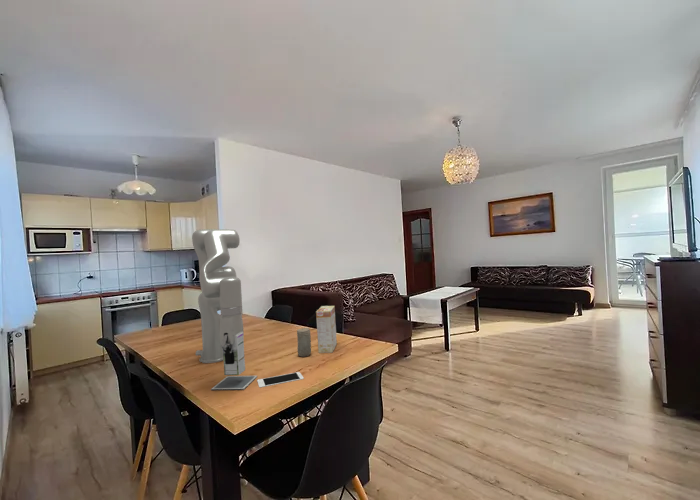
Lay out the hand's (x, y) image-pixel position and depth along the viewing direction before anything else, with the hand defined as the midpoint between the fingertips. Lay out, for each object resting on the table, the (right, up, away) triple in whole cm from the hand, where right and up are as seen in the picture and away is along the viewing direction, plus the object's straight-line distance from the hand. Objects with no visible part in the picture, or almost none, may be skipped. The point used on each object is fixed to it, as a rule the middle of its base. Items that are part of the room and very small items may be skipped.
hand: (234, 360), depth 120 cm
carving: (+22, -8, +30) cm, 38 cm away
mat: (0, -8, 0) cm, 8 cm away
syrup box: (0, -5, 0) cm, 5 cm away
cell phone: (+17, -8, +1) cm, 19 cm away
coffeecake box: (+32, -8, +39) cm, 51 cm away
